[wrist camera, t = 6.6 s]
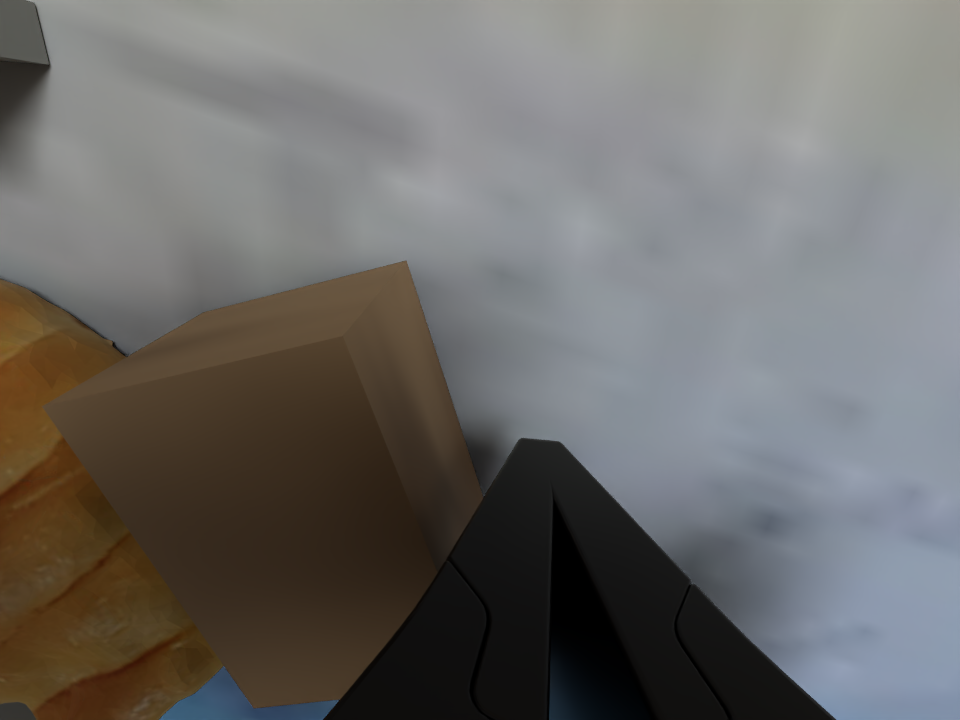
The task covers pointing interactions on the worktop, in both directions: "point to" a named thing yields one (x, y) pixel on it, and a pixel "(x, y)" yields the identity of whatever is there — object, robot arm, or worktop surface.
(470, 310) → the worktop surface
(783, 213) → the worktop surface
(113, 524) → the pastry
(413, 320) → the cardboard brown box
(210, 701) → the worktop surface
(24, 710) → the bay
